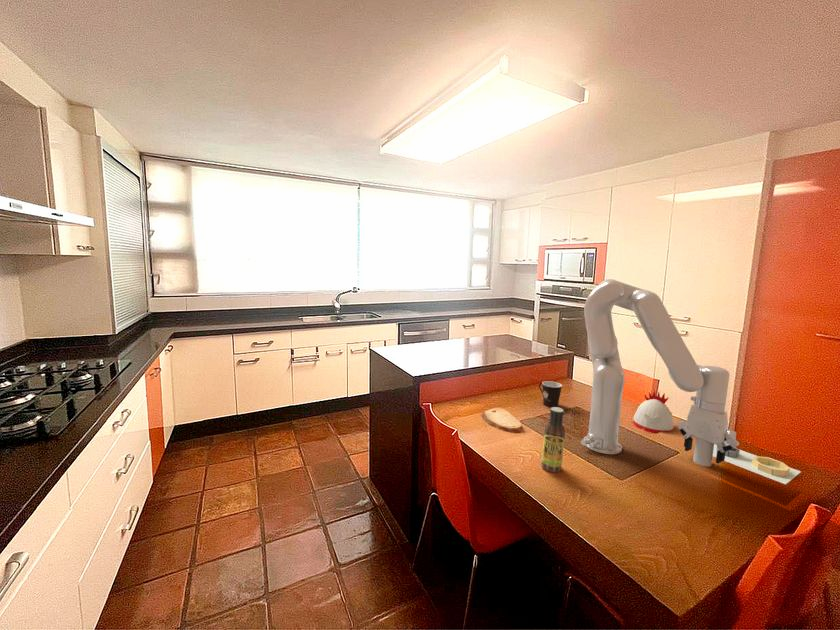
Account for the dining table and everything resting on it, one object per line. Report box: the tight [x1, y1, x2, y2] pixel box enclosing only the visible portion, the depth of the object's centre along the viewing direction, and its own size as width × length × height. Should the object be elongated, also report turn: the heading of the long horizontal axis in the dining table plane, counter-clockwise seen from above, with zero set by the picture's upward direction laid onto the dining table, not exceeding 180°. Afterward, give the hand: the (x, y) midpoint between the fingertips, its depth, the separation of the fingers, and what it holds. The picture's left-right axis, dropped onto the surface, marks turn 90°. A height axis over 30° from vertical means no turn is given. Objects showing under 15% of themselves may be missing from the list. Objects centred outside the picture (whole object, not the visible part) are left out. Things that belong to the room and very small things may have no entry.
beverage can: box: [692, 437, 714, 468], centre depth 118 cm, size 5×5×12 cm
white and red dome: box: [632, 390, 674, 434], centre depth 147 cm, size 14×14×15 cm
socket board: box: [712, 444, 802, 485], centre depth 120 cm, size 14×22×3 cm, turn 30°
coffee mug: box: [538, 380, 563, 408], centre depth 170 cm, size 12×9×10 cm
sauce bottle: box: [541, 407, 566, 473], centre depth 114 cm, size 6×6×20 cm
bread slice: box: [481, 407, 525, 434], centre depth 150 cm, size 18×18×4 cm
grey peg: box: [724, 429, 737, 451], centre depth 124 cm, size 3×3×8 cm
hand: (703, 455), depth 118 cm, fingers open, 8 cm apart
